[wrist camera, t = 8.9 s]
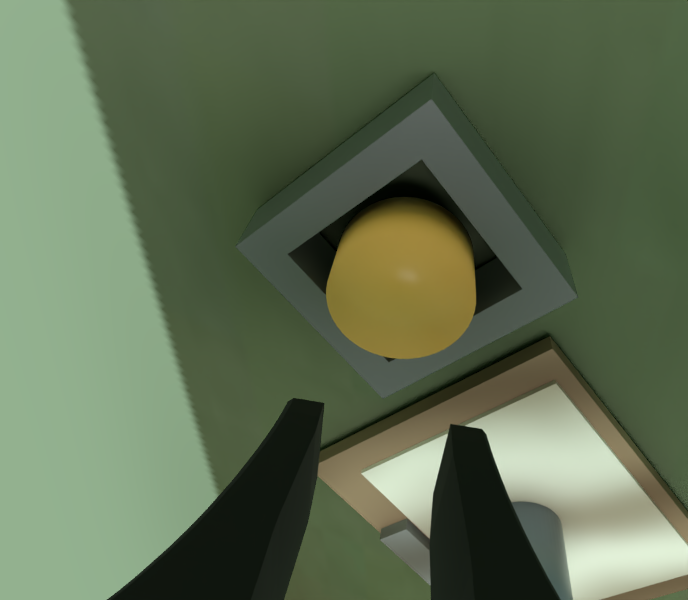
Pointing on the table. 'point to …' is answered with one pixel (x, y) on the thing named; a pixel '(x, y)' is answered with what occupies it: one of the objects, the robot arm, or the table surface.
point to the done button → (403, 279)
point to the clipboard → (526, 474)
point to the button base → (467, 192)
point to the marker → (546, 543)
